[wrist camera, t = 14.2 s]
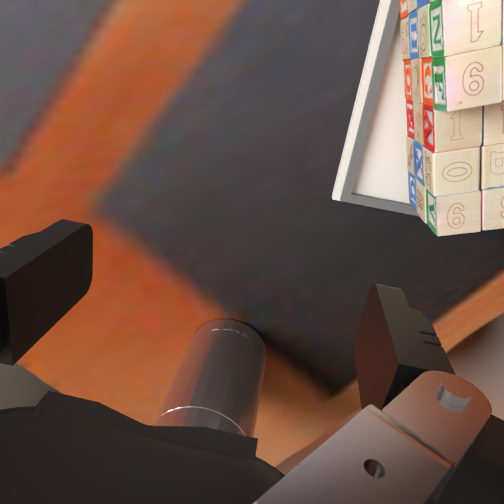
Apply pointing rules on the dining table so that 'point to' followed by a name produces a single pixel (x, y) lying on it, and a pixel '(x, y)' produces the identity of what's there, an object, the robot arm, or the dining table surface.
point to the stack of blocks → (455, 112)
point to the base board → (378, 124)
